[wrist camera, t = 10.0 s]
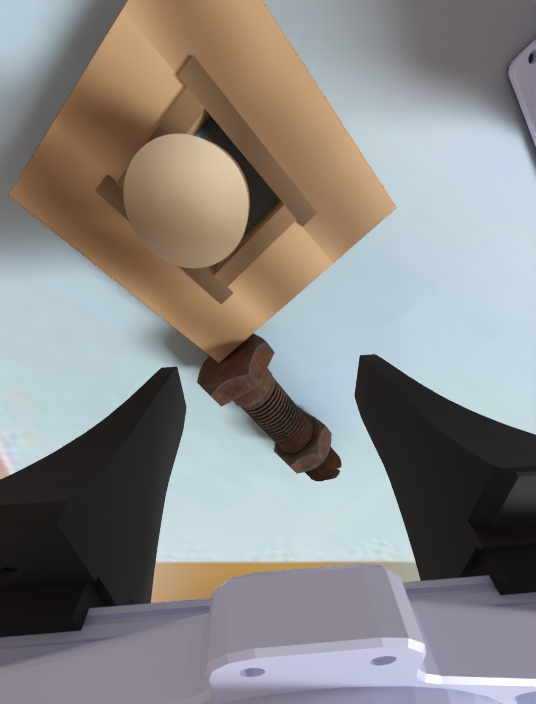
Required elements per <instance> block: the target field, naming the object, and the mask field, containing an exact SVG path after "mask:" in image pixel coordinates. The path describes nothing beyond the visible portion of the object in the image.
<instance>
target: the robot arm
mask: <svg viewBox="0 0 536 704" xmlns="http://www.w3.org/2000/svg"><path fill="white" fill-rule="evenodd" d="M531 52H532V54H533V60H532V62H531V63H529V62H528V58H529V55H530V53H531ZM508 73H509V78H510V81H511V83H512V86H513V88H514V91H515V94H516V96H517V99H518V101H519V104H520V107H521V109H522V112H523V115H524V117H525V120H526V122H527V125H528V128H529V130H530V133H531V136H532V138H533V141H534V143H535V146H536V39H535V40H534V41H533V42H532V43H531V44H530V45H529V46H528V47H527V48H525V49H524V50H523V51H522V52H521V53H520V54H519V55H518V56H517V57H516V58H515V59H514V60H513V61H512V63H511V65H510V67H509V71H508ZM355 399H356V403H357V406H358V409H359V412H360V415H361V418H362V420H363V423H364V425H365V427H366V429H367V431H368V433H369V435H370V437H371V440H372V442H373V444H374V446H375V448H376V450H377V452H378V454H379V456H380V458H381V460H382V463H383V465H384V467H385V469H386V472H387V474H388V477H389V480H390V482H391V485H392V488H393V491H394V494H395V497H396V500H397V503H398V506H399V509H400V512H401V515H402V518H403V521H404V524H405V527H406V531H407V534H408V537H409V541H410V544H411V547H412V551H413V554H414V557H415V561H416V565H417V568H418V572H419V576H420V579H421V581H416V582H402V580H401V577H400V576H399V575H398V574H396V573H394V572H392V571H391V570H388V569H386V568H385V567H383V566H380V565H363V564H359V565H358V564H357V565H345V566H332V567H320V568H307V569H295V570H282V571H270V572H258V573H251V574H246V575H242V576H238V577H232V578H231V579H229V580H228V581H226V582H224V583H223V584H221V585H220V586H218V587H217V588H216V589H215V590H214V591H213V595H212V598H209V599H197V600H184V601H172V602H161V603H151V595H152V586H153V577H154V569H155V562H156V554H157V546H158V540H159V533H160V527H161V520H162V514H163V508H164V502H165V496H166V491H167V487H168V482H169V479H170V475H171V472H172V468H173V465H174V461H175V457H176V454H177V450H178V447H179V443H180V440H181V436H182V432H183V428H184V421H185V414H186V403H185V399H184V395H183V390H182V386H181V381H180V377H179V373H178V368H177V367H166V368H161V369H160V370H158V371H157V372H156V373H155V374H154V375H153V376H152V377H151V378H150V379H149V380H148V381H147V382H146V383H145V384H144V385H143V386H142V387H141V388H140V389H138V390H137V391H136V392H135V393H134V394H133V395H132V396H131V397H130V398H129V399H128V400H126V401H125V402H124V403H123V404H122V405H121V406H119V407H118V408H117V409H116V410H115V411H113V412H112V413H111V414H110V415H109V416H107V417H106V418H105V419H104V420H102V421H101V422H100V423H98V424H97V425H95V426H94V427H93V428H91V429H90V430H88V431H87V432H86V433H84V434H83V435H81V436H80V437H78V438H76V439H75V440H73V441H71V442H70V443H68V444H67V445H65V446H63V447H62V448H60V449H59V450H57V451H55V452H54V453H52V454H50V455H48V456H46V457H45V458H43V459H41V460H39V461H37V462H35V463H33V464H31V465H29V466H28V467H26V468H24V469H22V470H20V471H18V472H16V473H14V474H12V475H9V476H7V477H5V478H3V479H1V480H0V704H536V435H535V434H532V433H529V432H526V431H523V430H520V429H517V428H514V427H511V426H508V425H505V424H503V423H500V422H497V421H495V420H492V419H490V418H487V417H485V416H482V415H480V414H478V413H475V412H473V411H471V410H469V409H466V408H464V407H462V406H460V405H458V404H456V403H454V402H452V401H450V400H448V399H446V398H444V397H442V396H441V395H439V394H437V393H435V392H434V391H432V390H430V389H428V388H427V387H425V386H423V385H422V384H420V383H418V382H417V381H415V380H414V379H412V378H411V377H409V376H407V375H406V374H404V373H403V372H401V371H400V370H398V369H397V368H396V367H394V366H393V365H391V364H390V363H388V362H387V361H385V360H384V359H382V358H381V357H379V356H377V355H375V354H373V355H360V358H359V366H358V374H357V381H356V389H355Z"/></svg>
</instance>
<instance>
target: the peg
mask: <svg viewBox="0 0 536 704" xmlns="http://www.w3.org/2000/svg"><path fill="white" fill-rule="evenodd" d="M123 197H124V205H125V210H126V214H127V217H128V219H129V222H130V224H131V226H132V228H133V230H134V232H135V234H136V235H137V237H138V238H139V239H140V241H141V242H142V243H143V244H144V245H145V246H146V247H147V248H148V249H149V250H150V251H151V252H152V253H153V254H154V255H156V256H157V257H159V258H160V259H162V260H164V261H166V262H168V263H170V264H173V265H176V266H179V267H184V268H203V267H208V266H211V265H214V264H216V263H218V262H220V261H222V260H223V259H225V258H226V257H227V256H228V255H230V254H231V253H232V252H233V251H234V249H235V248H236V247H237V245H238V244H239V242H240V241H241V239H242V237H243V234H244V232H245V229H246V225H247V220H248V215H249V210H250V194H249V188H248V184H247V181H246V178H245V176H244V174H243V172H242V170H241V168H240V166H239V165H238V163H237V162H236V161H235V159H234V158H233V157H232V156H231V155H230V154H229V153H228V152H227V151H226V150H224V149H223V148H222V147H220V146H218V145H217V144H215V143H213V142H211V141H208V140H205V139H202V138H199V137H196V136H193V135H188V134H169V135H163V136H161V137H158V138H155V139H153V140H152V141H150V142H148V143H147V144H146V145H144V146H143V147H142V148H141V149H140V150H139V151H138V152H137V153H136V155H135V156H134V158H133V159H132V161H131V163H130V165H129V167H128V169H127V172H126V176H125V181H124V192H123Z"/></svg>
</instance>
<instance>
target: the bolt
mask: <svg viewBox="0 0 536 704" xmlns="http://www.w3.org/2000/svg"><path fill="white" fill-rule="evenodd" d="M273 355H274V351H273V350H272V348H271V347H270V346H269V345H268V343H267V342H266V341H265V340H264V339H262V338H261V337H259V336H257V335H255V334H252V335H251V336H249V337H248V338H247V339H246V340H245V341H244V342H243V343H241V344H240V345H239V346H238V347H237V348H236V349H235V350H233V351H232V352H231V353H230V354H229V355H228V356H226V357H225V358H224V359H223V360H222V361H221V362H220V363H218V362H217V361H216V360H215V359H213V358H212V357H211V356H209V357H208V358H207V359H206V360H205V362H204V363H203V365H202V367H201V369H200V372H199V376H198V381H197V383H198V384H199V385H200V386H201V387H202V388H203V389H204V390H205V391H206V392H207V393H208V394H209V395H210V396H211V397H212V398H213V399H214V400H215V401H216V402H217V403H218V404H219V405H220V406H221V407H222V406H223V405H225V404H227V403H229V402H231V401H232V400H233V401H234V402H235V403H236V404H237V405H238V406H241V407H242V408H243V409H244V411H246V412H247V414H249V415H250V417H251V418H252V419H253V420H254V421H255V422H256V423H257V424H258V425H259V426H260V427H261V428H262V429H263V430H264V431H265V432H266V433H267V434H268V435H269V436H270V437H271V438H272V439H273V440H274V441H275V448H274V452H275V453H276V454H277V455H278V456H279V457H280V458H281V459H282V460H283V461H285V462H286V463H287V464H288V465H289V466H290V467H291V468H292V469H293V470H294V471H295V472H296V473H302V472H305V473H306V474H307V475H308V476H309V477H310V478H311V479H312V480H315V481H324V480H329V479H334V478H336V477H337V476H338V475H339V472H340V471H339V469H337V468H340V467H341V460H340V457H339V456H338V455H337V453H336V452H335V451H334V450H333V449H332V448H331V446H330V445H331V432H330V431H329V429H328V428H327V427H326V426H325V425H324V424H323V423H322V422H320V421H319V420H317V419H316V418H315V417H313V416H311V415H309V414H305V415H304V414H303V413H302V412H301V411H300V409H299V408H298V407H297V406H296V404H295V403H294V402H293V401H292V399H291V398H290V397H289V396H288V395H287V393H286V392H285V391H284V390H283V389H282V387H281V386H280V385H279V384H278V383H277V382H276V380H275V379H274V378H273V376H272V374H271V372H270V371H269V370H268V368H267V367H268V365H269V363H270V361H271V359H272V357H273Z"/></svg>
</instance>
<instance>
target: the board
mask: <svg viewBox="0 0 536 704" xmlns="http://www.w3.org/2000/svg"><path fill="white" fill-rule="evenodd" d="M210 116H211V117H212V118H213V119H214V120H215V122H216V123H217V124H218V125H219V126H220V128H221V129H222V130H223V131H224V133H225V134H226V135H227V136H228V137H229V139H230V140H231V141H232V142H233V143H234V145H235V146H236V147H237V148H238V149H239V151H240V152H241V153H242V154H243V155H244V157H245V158H246V159H247V160H248V162H249V163H250V164H251V165H252V166H253V168H254V169H255V170H256V171H257V172H258V174H259V175H260V176H261V177H262V178H263V180H264V181H265V182H266V183H267V184H268V186H269V187H270V188H271V189H272V191H273V192H274V193H275V194H276V195H277V197H278V198H279V199H280V200H279V201H278V202H277V203H276V204H275V205H274V206H273V207H272V208H271V209H270V210H269V211H268V212H267V213H266V214H265V215H264V216H263V217H262V218H261V219H260V220H259V221H258V222H257V223H256V224H255V225H254V226H253V227H252V228H251V229H250V230H249V231H248V232H247V233H246V234H245V235H244V236H243V238H242V239H241V241H240V242H239V244H238V245H237V247H236V248H235V249H234V251H233V252H232V253H231V254H230V255H228V256H227V257H226V258H225V259H223V260H222V261H220V262H218V263H216V264H214V265H211V266H208V267H203V268H184V267H179V266H176V265H173V264H170V263H168V262H166V261H164V260H162V259H160V258H159V257H157V256H156V255H154V254H153V253H152V252H151V251H150V250H149V249H148V248H147V247H146V246H145V245H144V244H143V243H142V242H141V241H140V239H139V238H138V237H137V235H136V234H135V232H134V230H133V228H132V226H131V224H130V222H129V219H128V217H127V214H126V210H125V205H124V197H123V192H124V181H125V176H126V172H127V169H128V167H129V165H130V163H131V161H132V159H133V158H134V156H135V155H136V153H137V152H138V151H139V150H140V149H141V148H142V147H143V146H144V145H146V144H147V143H148V142H150V141H152V140H153V139H155V138H158V137H161V136H163V135H169V134H188V135H193V136H195V135H196V134H197V132H198V131H199V130H200V129H201V127H202V126H203V125H204V124H205V122H206V121H207V120H208V119H209V117H210ZM8 196H10V197H11V198H12V199H13V200H15V201H16V202H17V203H18V204H20V205H21V206H22V207H23V208H25V209H26V210H27V211H28V212H30V213H31V214H32V215H33V216H35V217H36V218H37V219H38V220H40V221H41V222H42V223H43V224H45V225H46V226H47V227H49V228H50V229H51V230H52V231H54V232H55V233H56V234H57V235H59V236H60V237H61V238H62V239H64V240H65V241H66V242H67V243H69V244H70V245H71V246H72V247H74V248H75V249H76V250H77V251H79V252H80V253H81V254H82V255H84V256H85V257H86V258H88V259H89V260H90V261H91V262H93V263H94V264H95V265H96V266H98V267H99V268H100V269H101V270H103V271H104V272H105V273H106V274H108V275H109V276H110V277H111V278H113V279H114V280H115V281H116V282H118V283H119V284H120V285H121V286H123V287H124V288H125V289H127V290H128V291H129V292H130V293H132V294H133V295H134V296H135V297H137V298H138V299H139V300H140V301H142V302H143V303H144V304H145V305H147V306H148V307H149V308H150V309H152V310H153V311H154V312H155V313H157V314H158V315H159V316H160V317H162V318H163V319H164V320H165V321H167V322H168V323H169V324H171V325H172V326H173V327H174V328H176V329H177V330H178V331H179V332H181V333H182V334H183V335H184V336H186V337H187V338H188V339H189V340H191V341H192V342H193V343H194V344H196V345H197V346H198V347H199V348H201V349H202V350H203V351H204V352H206V353H207V354H208V355H210V356H211V357H212V358H213V359H215V360H216V361H217V362H218V363H220V362H221V361H222V360H223V359H224V358H225V357H226V356H228V355H229V354H230V353H231V352H232V351H233V350H235V349H236V348H237V347H238V346H239V345H240V344H241V343H243V342H244V341H245V340H246V339H247V338H248V337H249V336H251V335H252V334H253V333H254V332H255V331H256V330H257V329H259V328H260V327H261V326H262V325H263V324H264V323H265V322H267V321H268V320H269V319H270V318H271V317H272V316H273V315H275V314H276V313H277V312H278V311H279V310H280V309H281V308H283V307H284V306H285V305H286V304H287V303H288V302H290V301H291V300H292V299H293V298H294V297H295V296H296V295H298V294H299V293H300V292H301V291H302V290H303V289H304V288H306V287H307V286H308V285H309V284H310V283H311V282H312V281H314V280H315V279H316V278H317V277H318V276H319V275H320V274H322V273H323V272H324V271H325V270H326V269H327V268H328V267H330V266H331V265H332V264H333V263H334V262H335V261H336V260H338V259H339V258H340V257H341V256H342V255H343V254H345V253H346V252H347V251H348V250H349V249H350V248H351V247H353V246H354V245H355V244H356V243H357V242H358V241H359V240H361V239H362V238H363V237H364V236H365V235H366V234H367V233H369V232H370V231H371V230H372V229H373V228H374V227H375V226H377V225H378V224H379V223H380V222H381V221H382V220H383V219H385V218H386V217H387V216H388V215H389V214H390V213H391V212H393V211H394V210H395V209H396V208H397V207H396V206H395V204H394V203H393V201H392V199H391V198H390V196H389V195H388V193H387V192H386V190H385V189H384V187H383V186H382V184H381V182H380V181H379V179H378V178H377V176H376V175H375V173H374V172H373V170H372V169H371V167H370V165H369V164H368V162H367V161H366V159H365V158H364V156H363V155H362V153H361V152H360V150H359V148H358V147H357V145H356V144H355V142H354V141H353V139H352V138H351V136H350V135H349V133H348V132H347V130H346V128H345V127H344V125H343V124H342V122H341V121H340V119H339V118H338V116H337V115H336V113H335V111H334V110H333V108H332V107H331V105H330V104H329V102H328V101H327V99H326V98H325V96H324V94H323V93H322V91H321V90H320V88H319V87H318V85H317V84H316V82H315V81H314V79H313V77H312V76H311V74H310V73H309V71H308V70H307V68H306V67H305V65H304V64H303V62H302V60H301V59H300V57H299V56H298V54H297V53H296V51H295V50H294V48H293V47H292V45H291V43H290V42H289V40H288V39H287V37H286V36H285V34H284V33H283V31H282V30H281V28H280V26H279V25H278V23H277V22H276V20H275V19H274V17H273V16H272V14H271V13H270V11H269V9H268V8H267V6H266V5H265V3H264V2H263V0H128V1H127V3H126V4H125V6H124V8H123V9H122V11H121V13H120V14H119V16H118V17H117V19H116V21H115V22H114V24H113V26H112V27H111V29H110V31H109V32H108V34H107V35H106V37H105V39H104V40H103V42H102V44H101V45H100V47H99V48H98V50H97V52H96V53H95V55H94V57H93V58H92V60H91V61H90V63H89V65H88V66H87V68H86V70H85V71H84V73H83V75H82V76H81V78H80V79H79V81H78V83H77V84H76V86H75V88H74V89H73V91H72V92H71V94H70V96H69V97H68V99H67V101H66V102H65V104H64V106H63V107H62V109H61V110H60V112H59V114H58V115H57V117H56V119H55V120H54V122H53V123H52V125H51V127H50V128H49V130H48V132H47V133H46V135H45V136H44V138H43V140H42V141H41V143H40V145H39V146H38V148H37V150H36V151H35V153H34V154H33V156H32V158H31V159H30V161H29V163H28V164H27V166H26V167H25V169H24V171H23V172H22V174H21V176H20V177H19V179H18V180H17V182H16V184H15V185H14V187H13V189H12V190H11V192H10V194H9V195H8Z"/></svg>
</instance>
